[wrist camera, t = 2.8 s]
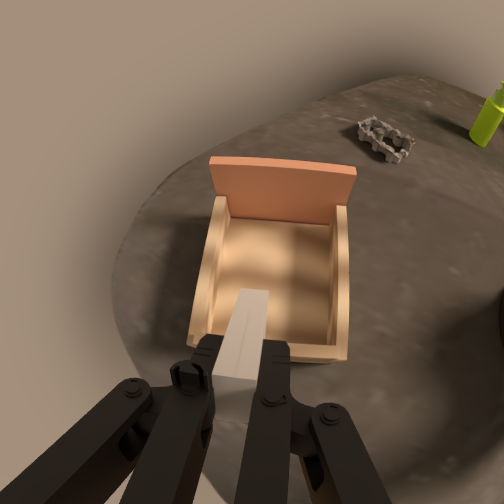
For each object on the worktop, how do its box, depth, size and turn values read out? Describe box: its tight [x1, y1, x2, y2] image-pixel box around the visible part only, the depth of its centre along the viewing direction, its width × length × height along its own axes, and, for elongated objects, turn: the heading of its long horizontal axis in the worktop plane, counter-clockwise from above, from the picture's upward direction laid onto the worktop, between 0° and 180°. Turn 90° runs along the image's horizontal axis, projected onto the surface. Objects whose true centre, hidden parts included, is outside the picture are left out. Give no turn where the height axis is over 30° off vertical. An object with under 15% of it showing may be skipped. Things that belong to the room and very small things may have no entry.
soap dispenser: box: [469, 81, 504, 147], centre depth 39 cm, size 6×7×20 cm
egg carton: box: [358, 116, 415, 164], centre depth 45 cm, size 11×8×4 cm
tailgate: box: [209, 157, 357, 226], centre depth 34 cm, size 1×16×12 cm, turn 83°
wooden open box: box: [187, 196, 349, 364], centre depth 31 cm, size 18×16×9 cm
